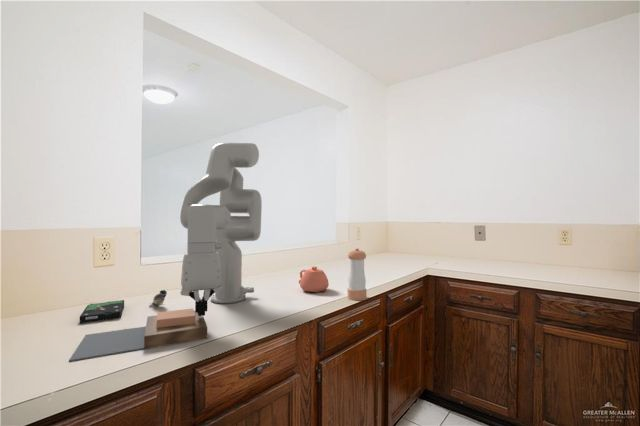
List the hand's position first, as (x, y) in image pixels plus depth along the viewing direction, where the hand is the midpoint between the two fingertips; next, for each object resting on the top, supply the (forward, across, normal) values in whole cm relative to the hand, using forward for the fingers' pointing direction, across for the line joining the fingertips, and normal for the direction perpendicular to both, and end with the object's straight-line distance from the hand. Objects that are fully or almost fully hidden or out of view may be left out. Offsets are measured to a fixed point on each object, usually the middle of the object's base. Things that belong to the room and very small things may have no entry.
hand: (201, 314), depth 85 cm
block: (+1, +6, 0) cm, 6 cm away
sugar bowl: (+4, -48, -26) cm, 55 cm away
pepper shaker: (+4, -58, -7) cm, 58 cm away
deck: (+4, +6, 0) cm, 7 cm away
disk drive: (+5, +26, -28) cm, 39 cm away
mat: (+4, +20, 0) cm, 21 cm away
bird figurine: (+4, +10, -29) cm, 31 cm away
